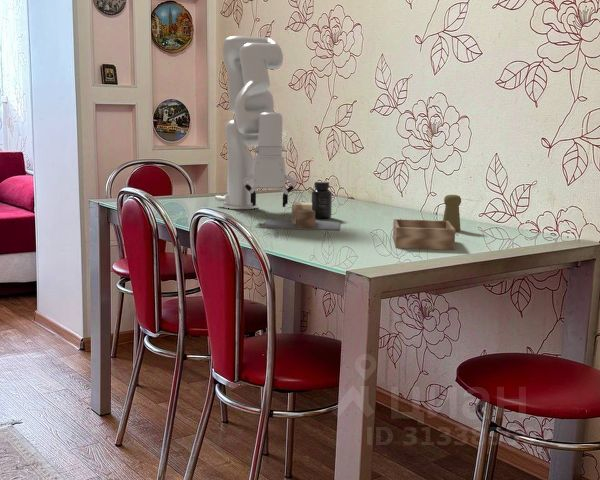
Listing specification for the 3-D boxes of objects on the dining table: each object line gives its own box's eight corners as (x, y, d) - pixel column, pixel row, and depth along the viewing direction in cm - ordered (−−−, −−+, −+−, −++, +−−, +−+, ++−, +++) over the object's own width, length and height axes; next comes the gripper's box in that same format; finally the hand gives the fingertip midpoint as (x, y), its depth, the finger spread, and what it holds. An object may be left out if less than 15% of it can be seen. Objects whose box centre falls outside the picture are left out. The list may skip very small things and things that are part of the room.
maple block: (292, 204, 244) (311, 205, 243) (293, 202, 250) (312, 202, 249) (291, 223, 245) (310, 224, 245) (293, 220, 251) (311, 221, 250)
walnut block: (298, 228, 236) (299, 211, 235) (295, 225, 241) (296, 209, 240) (314, 228, 237) (315, 211, 236) (311, 225, 242) (311, 209, 241)
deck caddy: (395, 247, 209) (396, 227, 208) (392, 237, 224) (393, 219, 223) (454, 249, 208) (455, 229, 207) (447, 239, 223) (448, 220, 222)
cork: (461, 229, 243) (464, 194, 241) (459, 232, 237) (461, 196, 235) (442, 228, 245) (444, 193, 243) (439, 230, 239) (441, 195, 237)
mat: (260, 227, 237) (260, 226, 237) (266, 220, 253) (266, 219, 253) (339, 230, 235) (339, 229, 235) (340, 222, 251) (340, 221, 251)
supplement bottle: (334, 217, 262) (335, 182, 260) (326, 220, 256) (327, 183, 254) (315, 215, 265) (316, 180, 263) (307, 218, 259) (308, 182, 257)
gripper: (241, 152, 242) (240, 206, 245) (296, 153, 240) (295, 208, 243) (244, 150, 249) (243, 203, 252) (298, 152, 248) (297, 205, 251)
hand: (269, 205), depth 248 cm, fingers open, 9 cm apart
